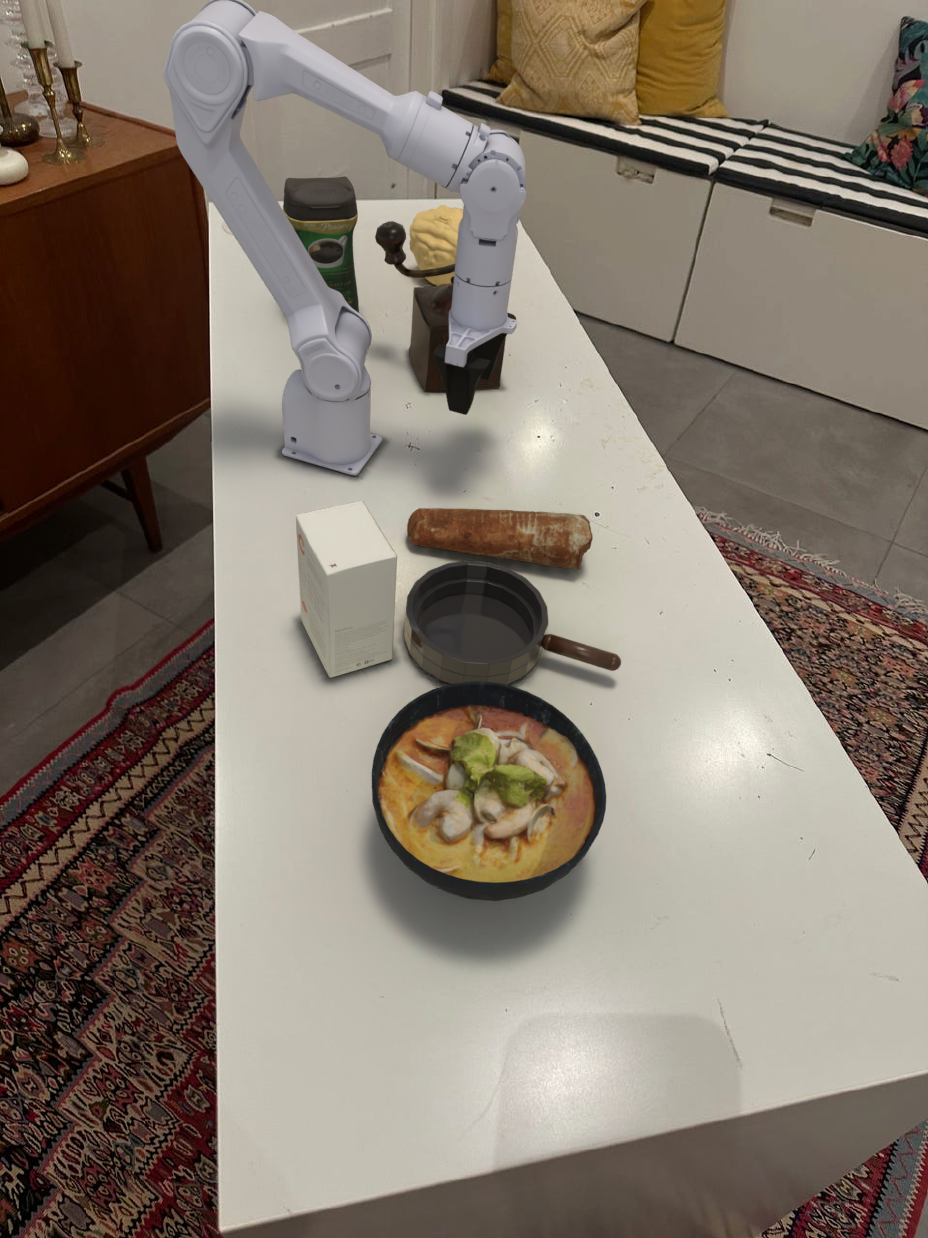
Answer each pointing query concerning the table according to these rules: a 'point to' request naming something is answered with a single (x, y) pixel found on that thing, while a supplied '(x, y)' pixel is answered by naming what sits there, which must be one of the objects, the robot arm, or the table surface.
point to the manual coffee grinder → (428, 313)
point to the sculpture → (436, 240)
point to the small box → (346, 587)
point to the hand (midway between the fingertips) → (469, 393)
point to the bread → (504, 534)
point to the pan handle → (581, 652)
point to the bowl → (487, 790)
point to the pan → (475, 623)
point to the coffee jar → (326, 228)
